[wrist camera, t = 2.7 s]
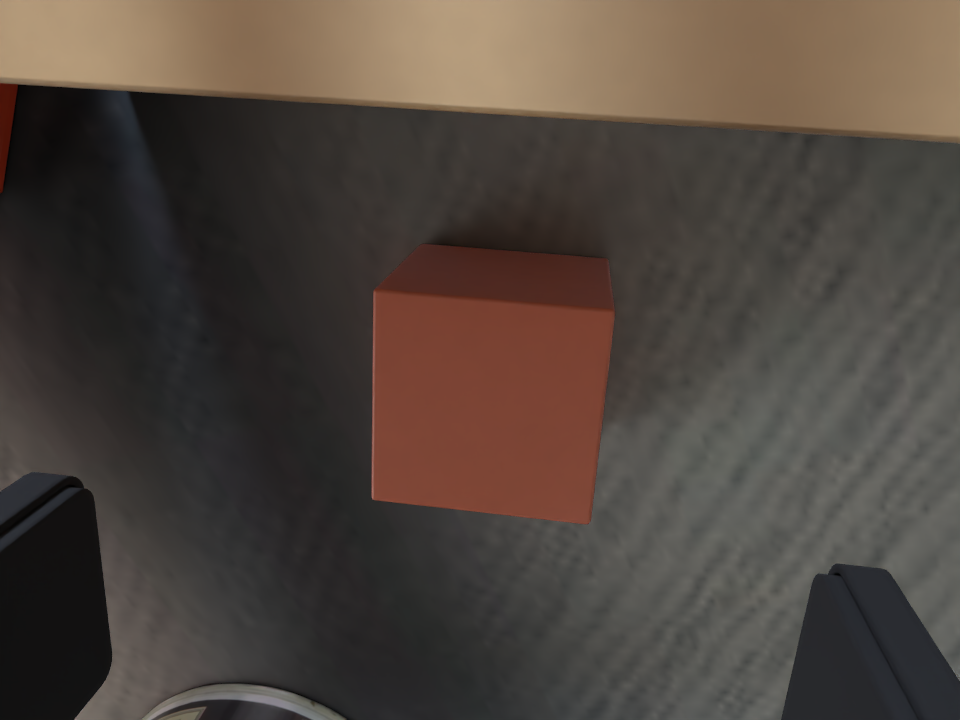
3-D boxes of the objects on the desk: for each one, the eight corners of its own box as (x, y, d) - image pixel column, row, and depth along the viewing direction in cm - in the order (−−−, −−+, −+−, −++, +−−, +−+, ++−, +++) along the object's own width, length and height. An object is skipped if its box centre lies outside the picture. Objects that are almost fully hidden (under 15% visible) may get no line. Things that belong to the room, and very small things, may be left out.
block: (419, 242, 19) (372, 288, 15) (609, 258, 19) (616, 310, 14) (415, 414, 21) (370, 501, 16) (589, 433, 20) (590, 526, 16)
